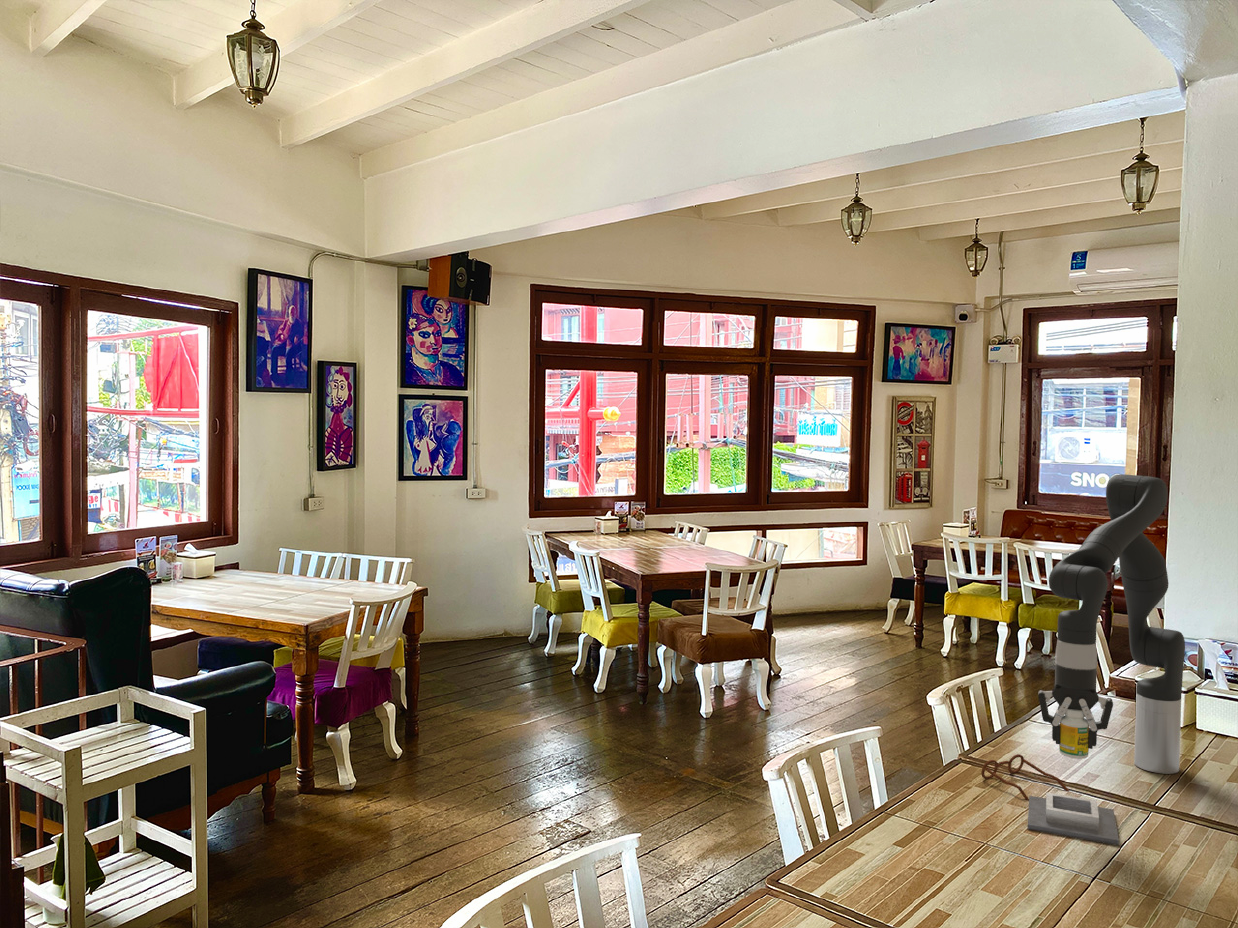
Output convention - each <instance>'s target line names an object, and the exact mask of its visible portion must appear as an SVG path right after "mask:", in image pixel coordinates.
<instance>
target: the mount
mask: <svg viewBox="0 0 1238 928" xmlns="http://www.w3.org/2000/svg"><path fill="white" fill-rule="evenodd" d="M1045 794H1046V795H1045V797H1046V798H1045V797H1041V796H1034V795H1029V796H1028V799H1029V801H1028V811H1027V812H1028V813H1027V830H1030V831H1035V832H1042V833H1045V834H1046V833H1047V834H1052V835H1057V836H1062V837H1069V838H1075V839H1079V840H1085V841H1091V842H1096V843H1101V844H1102V843H1103V844H1107V845H1113V846H1120V839H1119V833H1118V826H1117V822H1116V817H1115V816H1116V815H1115V810H1114V809H1112V808H1107V807H1101V806H1098V800H1096V799H1089V798H1083V797H1077V796H1072V795H1065V794H1060V793H1059V794H1058V793H1055V792H1054V793H1053V792H1046V793H1045Z"/></svg>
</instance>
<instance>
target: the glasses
mask: <svg viewBox="0 0 1238 928" xmlns="http://www.w3.org/2000/svg"><path fill="white" fill-rule="evenodd" d="M1017 758H1020V764H1019V766H1018V767H1017V768H1016V769H1015V770H1012V768H1011V767H1012V763H1013V762H1014V761H1015V759H1017ZM990 764H994V769H993V771H992V770H991V769H990V768H988V766H989V765H990ZM1024 764H1026V765H1027V766H1029V767H1030V768H1032V769H1033V770H1035V771H1037V772H1038V773H1040V774H1042V775H1043V776H1045V777H1048V778H1051V779H1053V780H1055V781H1056V782H1057V783H1058V784H1059V785H1060V786H1061V787H1062V788H1063V789H1064V791H1066V792H1069V791H1070V790H1069V788H1068V787H1067V786H1066V785H1065V784H1064V783H1063V781H1062V780H1061V779H1060V778H1059V777H1057V776H1055V775H1054V774H1051V773H1048V772H1045V771H1044V770H1042V769H1040V768H1039V767H1038V766H1036V765H1035V764H1033V763H1031V762H1030V761H1028V760H1027V759H1025V758H1024V756H1023V755H1022V754H1019V753H1018V754H1015V755H1013V756H1011V757H1010V759H1009V760H1003V761H999V762H998V761H996V759H989V760H987V761H986V762H985V763H984V764H983V766H982V768H981V777H982V778H983V779H984V780H989V779H992V778H993V777H994V778H996V779H998V780H999V781H1000V782H1001V783H1003V784H1005V785H1008V786H1011V787H1014V788H1016V789H1018V791H1019V792H1020V794H1021V795H1022V797H1023V798H1024V800H1026V801H1028V802H1029V796H1027V794H1026V793H1025V792H1024V790H1023V788H1022V787H1021V786H1020V785H1018V784H1016V783H1014V782H1010V781H1007V780H1006V779H1005V778H1003V777H1001V776H1000V775H998V774H997V772H998V769H999V767H1000V766H1002V765H1007V771H1008V772H1009V773H1010V774H1017V773H1019V772H1020V771H1021V770H1022V768H1023V766H1024ZM985 771H986V772H987V773H989V775H987V776H986V774H985Z"/></svg>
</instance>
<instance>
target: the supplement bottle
mask: <svg viewBox="0 0 1238 928" xmlns="http://www.w3.org/2000/svg"><path fill="white" fill-rule="evenodd" d="M1059 724H1060V744H1058V745H1059V746H1058V747H1059V753H1060V755H1062V756H1063V757H1066V758H1070V759H1076V760H1082V759H1087V758H1088V757H1089V752H1090V751H1089V750H1090V749H1089V728H1090V726H1089V724H1088V722H1087V720H1086V717H1085V715H1084V713H1083V711H1082V710H1073V709H1067V710H1066V712H1065V714H1064V716H1063V718H1062V719H1061V721H1060V723H1059Z"/></svg>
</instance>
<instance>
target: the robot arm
mask: <svg viewBox="0 0 1238 928" xmlns="http://www.w3.org/2000/svg"><path fill="white" fill-rule="evenodd" d="M1168 494H1169V493H1168V487H1167V484H1166V482H1165V481H1164V480H1163V479H1161V478H1158V477H1155V476H1147V475H1138V474H1137V475H1136V474H1126V473H1124V474H1122V473H1121V474H1119V473H1118V474H1115V475H1112V476H1111V477H1110V478H1109V480H1108V481H1107V483H1106V488H1105V501H1106V506H1107V507H1106V508H1107V511H1108V515H1109V518H1110V521H1107V522H1105V523H1104V524H1101V525H1099V526H1098V527H1096V528H1094V529H1093V530H1092V531H1091V532H1090V534H1089V535H1088V536H1087V537H1086V538H1085V540H1084V541H1083V543H1082V544H1081V545H1080V546H1079V548H1078V549H1077V550H1075V551H1073V552H1071V553H1070V554H1069V555H1067V556H1066V557H1064V558H1063V559H1060V561H1059V562H1057V563H1056V564H1055V565H1054V567H1053V568H1052V569H1051V571H1050V573H1049V576H1048V586H1049V589H1050V590H1051V592H1052V593H1053V594H1054V595H1055V596H1056V597H1059V598H1063V599H1067V600H1068V599H1070V600H1075V601H1080V602H1081V601H1082V603H1081V606H1080V608H1079V609H1071V610H1069V609H1067V610H1063V611H1061V612H1060V613H1059V614H1058V616H1057V637H1056V639H1057V641H1056V647H1055V657H1054V661H1055V662H1054V664H1055V665H1054V687H1053V688H1052V689H1051V690H1046V691H1045V690H1043V689H1040V690H1038V694H1037V695H1038V696H1037V697H1038V701H1039V706H1040V712H1041V716H1042V721H1043V722H1045V723H1048V724H1051V727H1052V728H1051V729H1052V731H1051V735H1052V736H1051V738H1052V741H1053V742H1055V745H1059V744H1060V721H1061V719H1062V718H1063V716H1065V712H1066V710H1067V709H1073V710H1082V711H1083V713H1084V715H1085V717H1084V718H1085V719H1086V720H1087V722H1088V724H1089V750H1093V749H1094V748H1093V747H1096V746H1097V742H1098V741H1097V740H1098V738H1097V737H1098V731H1099V730H1107V728H1108V726H1109V723H1110V717H1111V714H1112V711H1113V707H1114V701H1113V699H1112V698H1111V697H1107V698H1106V697H1102V696H1099V694H1098V692H1097V674H1098V673H1097V671H1098V670H1097V669H1098V651H1097V624H1098V619H1099V616H1100V612H1101V609H1102V606H1103V604H1104V600H1105V598H1106V595H1107V592H1108V587H1109V582H1108V578H1107V576H1106V574H1107V573H1109V571H1110V570H1111V569H1112V568H1113V567H1114V565H1115V564H1116V563H1117V562H1118V561H1119V562H1118V563H1119V570H1120V575H1121V576H1120V577H1121V583H1122V588H1123V593H1124V598H1125V603H1126V604H1125V605H1126V610H1127V619H1128V620H1127V621H1128V622H1127V624H1128V638H1129V639H1128V640H1129V649H1130V653H1131V654H1130V655H1131V657H1132V660H1133V661H1134V662H1135V663H1137V664H1139V665H1143V666H1148V667H1154V668H1160V669H1164V673H1163V674H1162V675H1160V676H1156V677H1148V678H1143V679H1140V680H1138V681H1137V683H1136V689H1135V691H1136V697H1135V701H1136V702H1135V726H1134V727H1135V729H1134V730H1135V731H1134V753H1133V754H1134V759H1133V760H1134V761H1133V765H1135V766H1136V767H1138V768H1140V769H1142V770H1144V771H1148V772H1152V773H1157V774H1165V775H1168V774H1169V775H1172V774H1177V773H1179V772H1180V759H1181V758H1180V755H1181V727H1182V724H1181V723H1182V722H1181V721H1182V719H1181V718H1182V693H1183V692H1182V691H1183V677H1184V676H1183V675H1184V674H1183V673H1184V664H1185V657H1186V656H1185V655H1186V654H1185V652H1186V640H1185V636H1184V635H1183V633H1182V632H1180V631H1179V630H1175V629H1168V628H1160V627H1155V626H1154V627H1153V626H1149V625H1148V623H1147V619H1148V617H1149V615H1150V613H1151V612H1152V611H1153V610H1154V608H1155V607H1156V606H1158V604H1159V603H1160V602H1161V601H1162V599H1163V598H1164V597H1165V595H1166V593H1168V588H1169V575H1168V569H1167V563H1166V560H1165V558H1164V556H1163V554H1162V553H1161V552H1160V550H1159V548H1158V547H1157V546H1156V545H1155V544H1154V543H1153V542H1152V541H1151V540H1150V539H1149V538H1148V537H1147V536H1146V535H1145V533H1143V532H1144V531H1146V530H1147V528H1149V527H1150V526H1151V525H1152V524H1154V522H1156V520H1157V519H1158V518H1159V517H1160V516H1161V515H1162V513H1163V512H1164V510H1165V509H1166V506H1167V503H1168V498H1169V497H1168V496H1169V495H1168ZM1052 697H1053V698H1054V700H1055V701H1056V703H1057V704H1058V707H1057V708H1056V711H1055V713H1054V715H1051V714H1050V713H1049V709H1048V704H1047V703H1049V702H1050V700H1051V698H1052ZM1097 703H1099V704H1100V705H1099V706H1100V708H1101V710H1102V713H1101V716H1100V720H1099V721H1095V718H1094V716H1093V712H1092V711H1091V710H1092V709H1093V708H1094V707H1095V705H1097Z"/></svg>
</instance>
